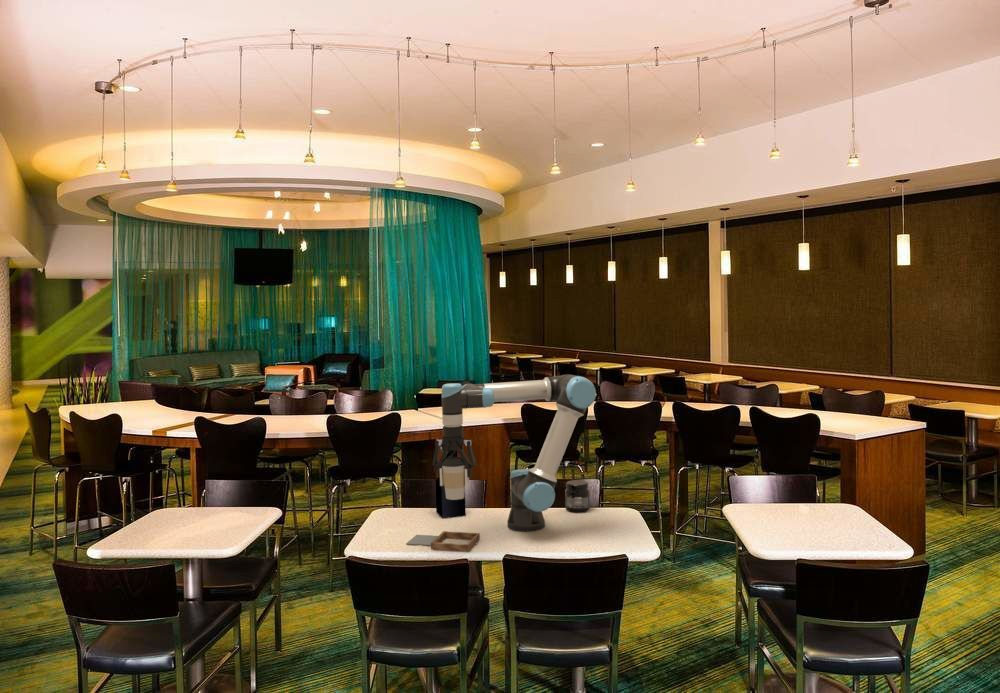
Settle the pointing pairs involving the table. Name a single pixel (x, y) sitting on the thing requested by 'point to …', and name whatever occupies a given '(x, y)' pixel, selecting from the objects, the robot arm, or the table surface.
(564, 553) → the table surface
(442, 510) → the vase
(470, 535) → the wooden square frame
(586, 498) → the supplement container
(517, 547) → the table surface
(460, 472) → the coffee cup
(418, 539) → the mat
